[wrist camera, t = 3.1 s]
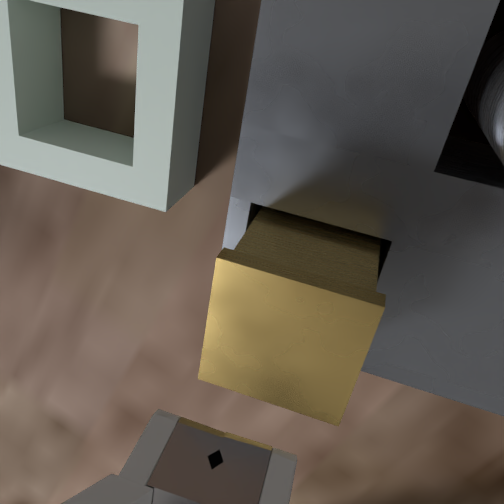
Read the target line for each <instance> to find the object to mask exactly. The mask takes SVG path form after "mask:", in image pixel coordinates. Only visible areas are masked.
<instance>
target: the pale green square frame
mask: <svg viewBox="0 0 504 504" xmlns="http://www.w3.org/2000/svg"><path fill="white" fill-rule="evenodd" d="M60 7H61V8H65V9H70V10H74V11H79V12H83V13H88V14H92V15H97V16H101V17H106V18H110V19H115V20H119V21H124V22H128V23H133V24H137V25H139V30H138V54H137V77H136V101H135V125H134V138H132V137H129V136H125V135H121V134H117V133H113V132H110V131H106V130H102V129H98V128H94V127H91V126H87V125H83V124H79V123H75V122H72V121H68V120H64V104H63V75H62V46H61V16H60ZM214 7H215V0H0V165H3V166H7V167H10V168H14V169H17V170H21V171H24V172H28V173H31V174H35V175H38V176H42V177H45V178H49V179H52V180H56V181H59V182H63V183H66V184H70V185H73V186H77V187H80V188H84V189H87V190H91V191H94V192H98V193H101V194H105V195H108V196H112V197H115V198H119V199H122V200H126V201H129V202H133V203H136V204H140V205H143V206H147V207H150V208H154V209H157V210H161V211H164V212H166V211H167V210H169V209H170V208H171V207H172V206H173V205H174V204H175V203H176V202H177V201H179V200H180V199H181V198H182V197H183V196H184V195H185V194H186V193H187V192H188V191H190V190H191V189H192V188H193V187H194V182H195V174H196V165H197V156H198V147H199V138H200V130H201V121H202V112H203V103H204V95H205V86H206V77H207V68H208V60H209V51H210V42H211V33H212V25H213V16H214Z"/></svg>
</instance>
